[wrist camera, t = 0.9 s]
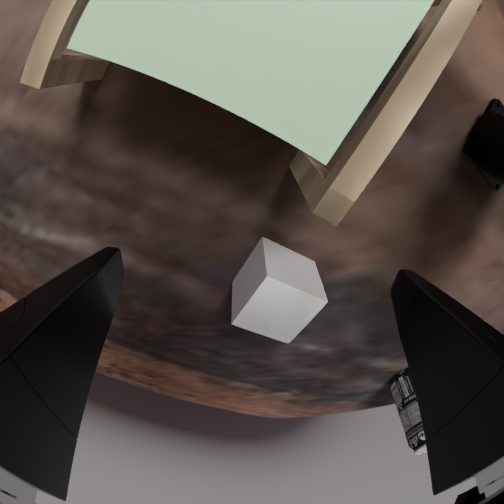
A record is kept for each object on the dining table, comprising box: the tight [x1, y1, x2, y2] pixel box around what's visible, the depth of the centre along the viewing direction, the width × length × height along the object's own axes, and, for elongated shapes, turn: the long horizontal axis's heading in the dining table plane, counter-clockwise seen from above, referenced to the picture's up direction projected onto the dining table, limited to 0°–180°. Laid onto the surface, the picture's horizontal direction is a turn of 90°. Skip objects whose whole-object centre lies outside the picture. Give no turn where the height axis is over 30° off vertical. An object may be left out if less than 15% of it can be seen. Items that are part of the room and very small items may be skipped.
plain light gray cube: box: [231, 237, 328, 344], centre depth 23 cm, size 5×5×5 cm
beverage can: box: [390, 368, 427, 455], centre depth 31 cm, size 7×7×12 cm
